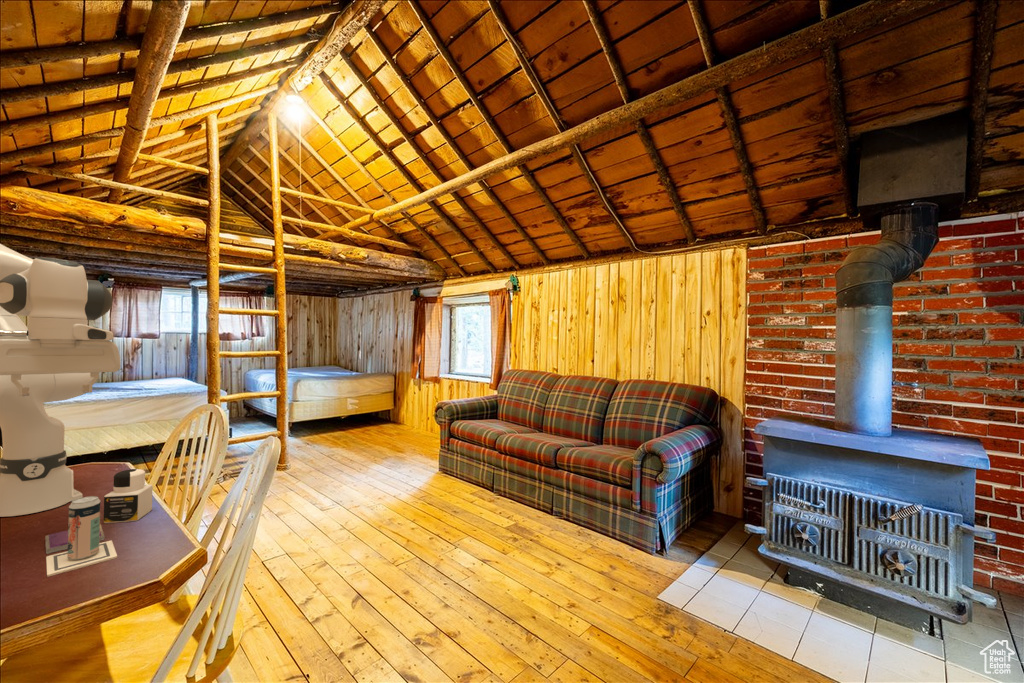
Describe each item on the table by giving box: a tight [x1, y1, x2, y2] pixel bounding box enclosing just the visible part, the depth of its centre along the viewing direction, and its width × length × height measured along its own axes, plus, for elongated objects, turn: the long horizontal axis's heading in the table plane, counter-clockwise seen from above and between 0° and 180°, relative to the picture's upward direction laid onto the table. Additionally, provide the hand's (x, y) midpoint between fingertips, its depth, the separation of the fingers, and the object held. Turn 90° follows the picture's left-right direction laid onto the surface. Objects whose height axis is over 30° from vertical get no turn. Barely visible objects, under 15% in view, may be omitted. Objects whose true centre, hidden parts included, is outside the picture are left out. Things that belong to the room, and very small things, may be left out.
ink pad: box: [45, 523, 105, 555], centre depth 96 cm, size 9×9×1 cm
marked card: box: [45, 540, 118, 578], centre depth 89 cm, size 10×10×1 cm
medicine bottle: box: [103, 468, 154, 524], centre depth 109 cm, size 7×7×12 cm
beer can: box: [67, 495, 101, 560], centre depth 89 cm, size 5×5×12 cm
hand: (56, 394), depth 92 cm, fingers open, 8 cm apart
